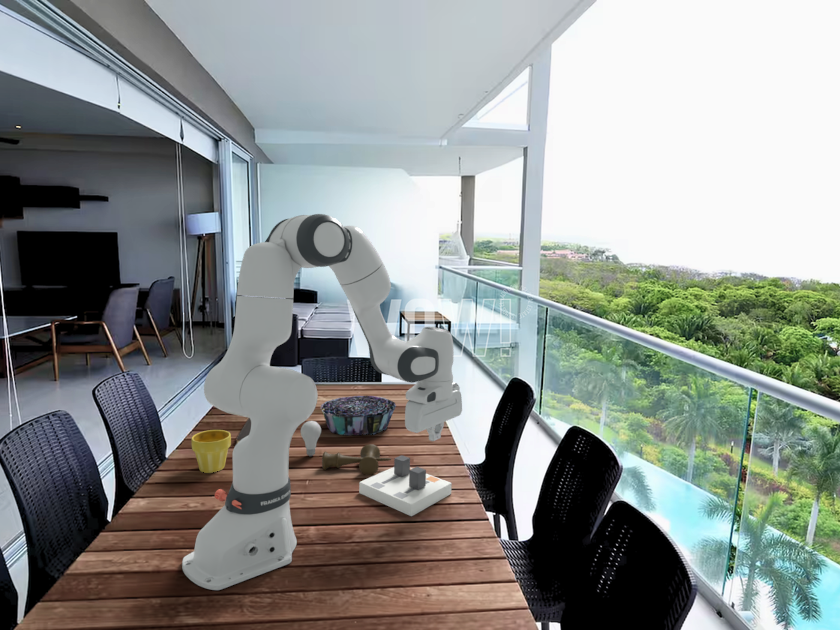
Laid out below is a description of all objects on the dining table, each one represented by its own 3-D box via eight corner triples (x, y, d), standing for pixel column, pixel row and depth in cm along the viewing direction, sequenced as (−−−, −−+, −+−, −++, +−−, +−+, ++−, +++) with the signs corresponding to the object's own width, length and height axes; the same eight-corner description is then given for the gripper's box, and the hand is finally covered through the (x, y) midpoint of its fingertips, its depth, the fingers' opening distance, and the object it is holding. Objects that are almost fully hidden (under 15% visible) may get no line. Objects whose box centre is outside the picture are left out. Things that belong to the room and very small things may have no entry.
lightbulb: (316, 460, 154) (316, 425, 153) (297, 458, 156) (297, 423, 154) (324, 453, 160) (324, 419, 159) (305, 451, 161) (305, 417, 160)
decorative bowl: (404, 440, 179) (407, 412, 178) (326, 443, 169) (328, 413, 168) (381, 418, 203) (384, 393, 202) (312, 419, 192) (314, 393, 191)
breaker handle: (402, 477, 137) (402, 461, 136) (394, 473, 139) (394, 458, 138) (409, 473, 139) (410, 458, 139) (401, 470, 141) (401, 455, 141)
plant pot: (211, 479, 140) (210, 444, 139) (184, 471, 145) (183, 438, 143) (239, 465, 150) (238, 433, 149) (212, 459, 154) (212, 427, 153)
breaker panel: (411, 516, 123) (411, 504, 122) (359, 493, 134) (359, 481, 134) (451, 493, 135) (451, 482, 135) (400, 474, 146) (400, 463, 146)
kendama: (324, 463, 154) (391, 462, 155) (320, 478, 145) (391, 476, 146) (324, 444, 153) (391, 443, 154) (319, 457, 144) (391, 456, 145)
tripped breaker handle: (418, 490, 130) (418, 473, 129) (409, 486, 131) (409, 470, 131) (425, 486, 132) (425, 469, 131) (416, 482, 134) (417, 466, 133)
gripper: (449, 379, 144) (448, 426, 146) (401, 394, 128) (400, 447, 130) (468, 383, 140) (466, 432, 142) (420, 399, 124) (419, 453, 126)
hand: (434, 439), depth 136 cm, fingers closed
